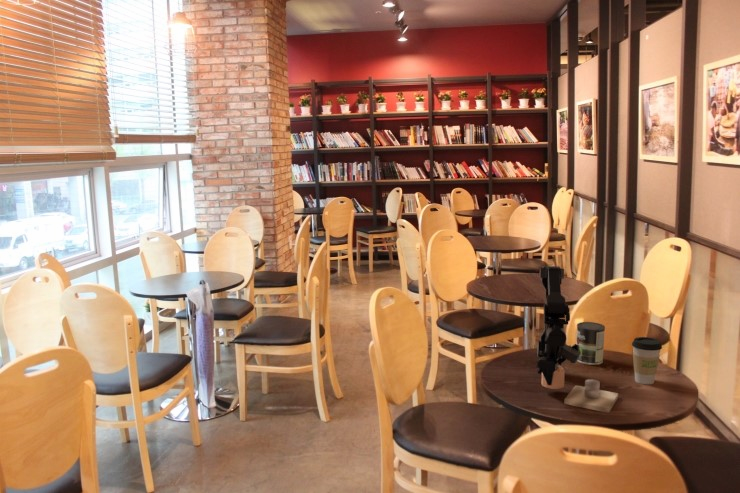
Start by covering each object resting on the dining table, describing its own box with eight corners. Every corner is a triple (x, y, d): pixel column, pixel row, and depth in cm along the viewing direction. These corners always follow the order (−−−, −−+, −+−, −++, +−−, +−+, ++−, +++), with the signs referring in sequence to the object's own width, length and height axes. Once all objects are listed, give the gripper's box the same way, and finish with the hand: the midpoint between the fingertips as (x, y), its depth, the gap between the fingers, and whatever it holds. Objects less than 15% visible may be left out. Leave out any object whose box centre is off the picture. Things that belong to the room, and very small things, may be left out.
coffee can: (582, 365, 244) (584, 330, 242) (571, 356, 254) (572, 322, 252) (608, 364, 245) (610, 328, 243) (595, 355, 256) (597, 321, 253)
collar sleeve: (538, 386, 217) (539, 369, 216) (545, 379, 223) (545, 362, 222) (560, 390, 214) (561, 373, 212) (566, 383, 220) (566, 366, 218)
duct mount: (564, 403, 210) (565, 384, 209) (575, 389, 222) (576, 371, 221) (608, 412, 203) (609, 393, 202) (618, 397, 214) (619, 379, 213)
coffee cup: (657, 388, 222) (660, 346, 219) (627, 383, 227) (629, 342, 224) (661, 379, 230) (664, 339, 227) (632, 374, 235) (634, 334, 233)
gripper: (571, 349, 204) (569, 395, 206) (586, 333, 219) (583, 377, 222) (536, 343, 209) (535, 388, 212) (553, 328, 225) (551, 371, 228)
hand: (552, 381), depth 218 cm, fingers closed on collar sleeve, 7 cm apart
